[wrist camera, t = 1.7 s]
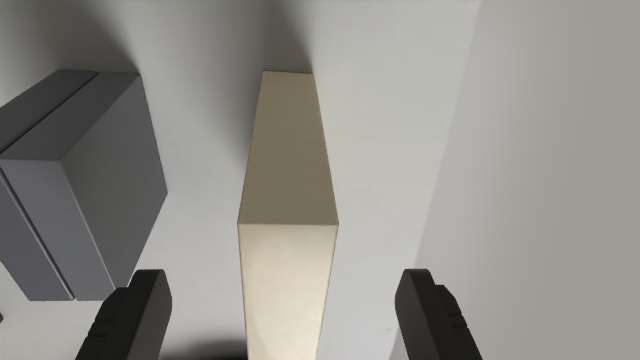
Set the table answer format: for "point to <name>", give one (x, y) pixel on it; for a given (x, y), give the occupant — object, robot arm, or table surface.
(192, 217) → the table surface
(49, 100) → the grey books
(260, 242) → the cream block
